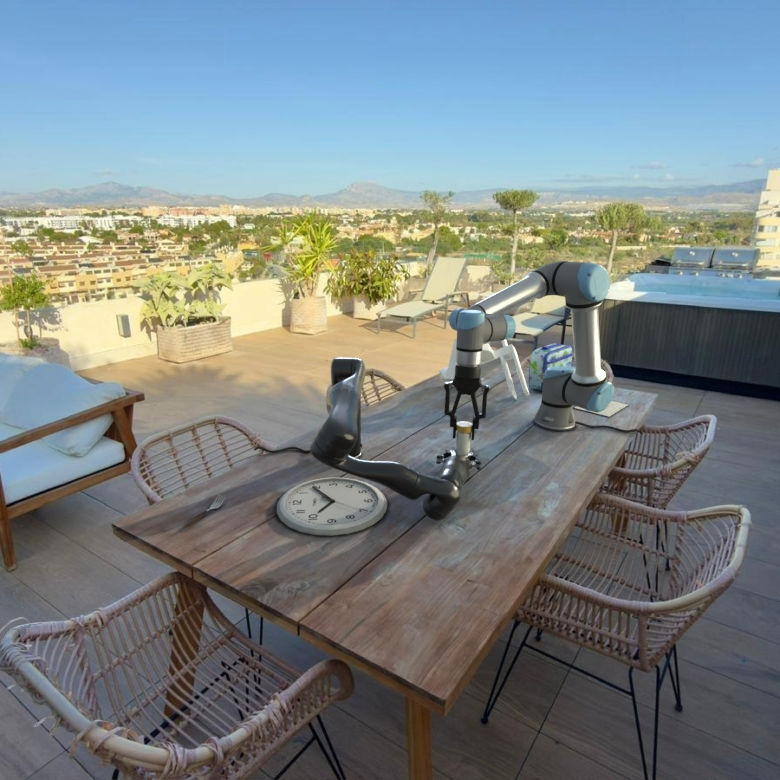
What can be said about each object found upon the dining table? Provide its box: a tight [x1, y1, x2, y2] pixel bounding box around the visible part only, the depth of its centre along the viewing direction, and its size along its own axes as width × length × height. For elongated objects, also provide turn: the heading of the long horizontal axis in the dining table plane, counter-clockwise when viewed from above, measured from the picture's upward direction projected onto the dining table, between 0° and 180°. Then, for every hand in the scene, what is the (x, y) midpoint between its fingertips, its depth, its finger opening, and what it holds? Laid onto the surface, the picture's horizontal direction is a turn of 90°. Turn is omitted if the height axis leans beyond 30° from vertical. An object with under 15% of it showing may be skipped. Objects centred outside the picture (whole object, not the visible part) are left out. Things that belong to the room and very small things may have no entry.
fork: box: [182, 493, 227, 529], centre depth 136 cm, size 3×16×2 cm, turn 160°
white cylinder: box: [455, 430, 472, 456], centre depth 161 cm, size 4×4×16 cm
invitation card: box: [573, 400, 629, 418], centre depth 226 cm, size 21×1×15 cm
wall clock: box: [276, 476, 388, 537], centre depth 142 cm, size 30×2×30 cm
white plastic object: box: [438, 338, 531, 400], centre depth 245 cm, size 37×45×31 cm
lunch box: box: [528, 343, 574, 392], centre depth 249 cm, size 26×11×21 cm, turn 134°
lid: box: [456, 420, 473, 433], centre depth 159 cm, size 5×5×2 cm
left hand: (463, 450), depth 164 cm, fingers closed on white cylinder, 4 cm apart
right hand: (463, 437), depth 160 cm, fingers closed on lid, 5 cm apart
